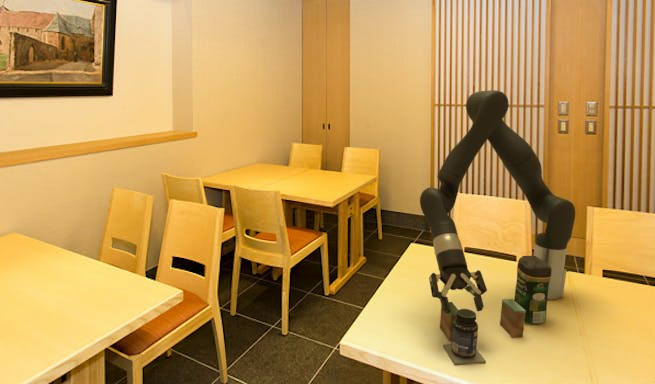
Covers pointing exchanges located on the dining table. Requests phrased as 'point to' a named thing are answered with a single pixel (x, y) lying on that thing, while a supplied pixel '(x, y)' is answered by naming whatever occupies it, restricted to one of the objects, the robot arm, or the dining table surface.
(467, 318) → the pill bottle
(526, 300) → the coffee jar
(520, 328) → the walnut channel
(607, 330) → the dining table surface
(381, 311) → the dining table surface
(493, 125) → the robot arm
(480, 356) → the slate pad
